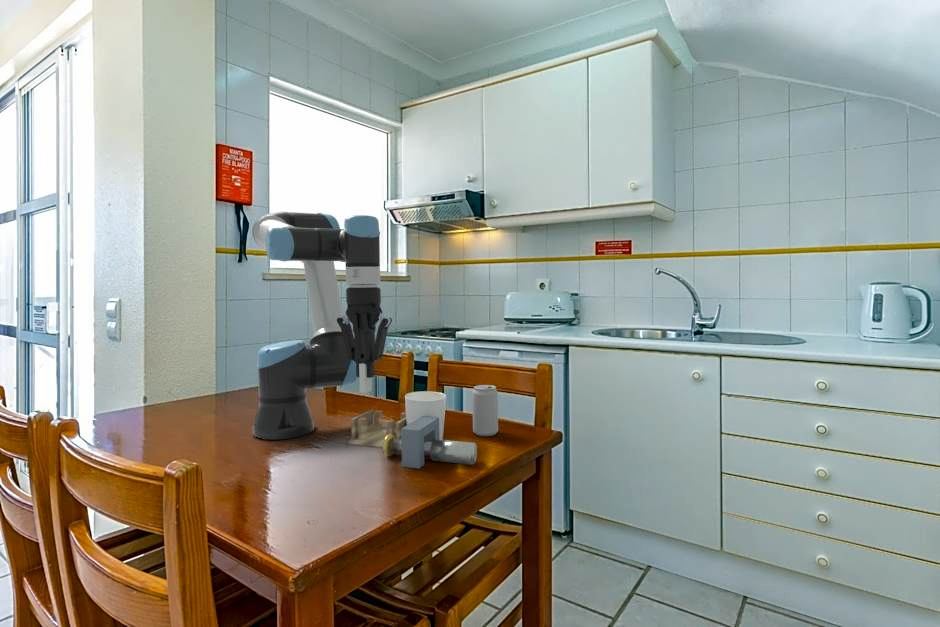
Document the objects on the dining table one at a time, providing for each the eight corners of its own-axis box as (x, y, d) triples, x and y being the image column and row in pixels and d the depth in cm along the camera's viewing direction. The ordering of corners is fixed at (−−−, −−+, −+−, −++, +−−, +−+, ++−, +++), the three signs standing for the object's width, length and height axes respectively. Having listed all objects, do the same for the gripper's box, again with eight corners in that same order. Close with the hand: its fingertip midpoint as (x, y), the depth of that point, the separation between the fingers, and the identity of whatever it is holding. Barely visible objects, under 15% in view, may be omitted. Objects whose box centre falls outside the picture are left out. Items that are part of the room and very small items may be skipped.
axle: (429, 460, 110) (431, 438, 111) (437, 460, 114) (439, 439, 115) (469, 464, 107) (471, 442, 108) (475, 465, 111) (478, 443, 112)
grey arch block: (402, 466, 109) (401, 428, 108) (423, 450, 119) (422, 416, 118) (419, 468, 107) (418, 430, 107) (439, 452, 117) (439, 417, 117)
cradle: (349, 443, 125) (348, 419, 124) (370, 432, 134) (370, 409, 134) (400, 448, 120) (399, 423, 120) (418, 436, 130) (418, 412, 129)
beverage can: (496, 437, 128) (495, 389, 127) (470, 436, 129) (469, 388, 128) (499, 430, 134) (499, 384, 133) (475, 429, 135) (474, 383, 135)
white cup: (450, 441, 128) (451, 393, 127) (437, 453, 118) (438, 401, 118) (413, 437, 130) (413, 389, 130) (397, 449, 121) (398, 398, 120)
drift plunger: (382, 457, 114) (382, 437, 113) (392, 451, 118) (392, 431, 118) (428, 463, 110) (428, 441, 110) (437, 456, 114) (436, 435, 114)
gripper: (328, 286, 114) (331, 393, 115) (381, 286, 110) (383, 397, 111) (347, 286, 121) (349, 386, 122) (397, 286, 117) (399, 390, 118)
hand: (365, 391), depth 117 cm, fingers closed
